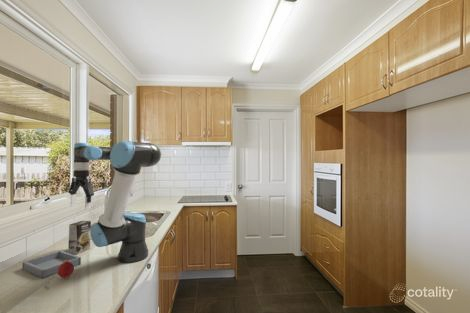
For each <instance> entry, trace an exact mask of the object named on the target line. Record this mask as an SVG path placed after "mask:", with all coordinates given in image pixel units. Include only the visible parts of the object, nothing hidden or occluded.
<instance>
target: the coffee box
mask: <svg viewBox="0 0 470 313" xmlns="http://www.w3.org/2000/svg"><path fill="white" fill-rule="evenodd" d="M91 225H92V221H91V220H81V221H80V220H79V221H77V222H73V223H70V224H68V227H69V228H68V245H67V246H68V248H67V253H69V254H72V255H79V254H82V253H83V252H86V251H88V250H90V249H91V233H90V229H91Z"/></svg>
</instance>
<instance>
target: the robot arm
mask: <svg viewBox="0 0 470 313" xmlns="http://www.w3.org/2000/svg"><path fill="white" fill-rule="evenodd" d="M161 157H162V151H161V149H160V148H159V147H158V146H157V145H156V144H155V143H150V142H142V141H141V142H139V141H131V140H126V141H125V140H124V141H123V140H122V141H118V142H117V143H115V144H114V145H113V146H95V145H90V143H88V142H75V143H74V146H73V172H72V173H73V174H72V175H73V177H72V178H71V183H70V186H69V189H68V194H70V207H74V206H77V192H78V190H79V188H82V189H83V192H84V194H85V197H84V200H85V201H84V209H87V210H88V209H91V206H92V197H93V196H95V193H94V192H95V191H94V190H93V189H94V188H93V186H92V179H91V178H88V177H90V170H89V169H90V161H106V160H107V161H109V162H110V164H111V166H112V169H113V170H114V176H113V179H112V183H111V186H110V189H109V190H110V191H109V193H108V197H107V202H106V205H105V207H104V208H105V209H104V211H103V212H104V213H103V214H101V215H100V216H99V217H98V221H97V222H94V223H91V229H90V233H91V237H90V239H91V240H92V242H93V244H94V245H95V246H96V247H98V248H103V247H108V246H111V245H114V244H119V243H120V242H121V246H120V247H119V251H118V254H117V260H118V262H122V263H135V262H139V261H143V260H145V259H146V258H148V257H149V249H148V246H147V243H146V227H147V226H146V224H147V220H146V215H144V214H143V213H139V212H126V207H127V204H128V201H129V198H130V194H131V190H132V188H133V185H134V182H135V181H134V180H135V178H136V176H137V175H140V172H141V170H142V168H150V167H154V166H155V165H157V164H158V163H159V162H160V160H161ZM125 212H126V213H125Z"/></svg>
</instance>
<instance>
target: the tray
mask: <svg viewBox="0 0 470 313" xmlns="http://www.w3.org/2000/svg"><path fill="white" fill-rule="evenodd" d="M65 260H67V261H68V262H70V263H72V264H73V266H74V268H75V267H78V266H80V265H81V262H82V261H81V260H82V257H81V256H78V255H76V254H70V253H68V252H66V251H63V250H56V251H55V252H50V253H48V254H45V255H42V256H37V257H35V258H31V259H28V260H26V261H25V260H24V261H22V271H24V272H27V273H29V274H31V275H34V276H36V277H38V278H40V279H42V280H45V279H47V278H50V277H52V276H54V275H58V269H59V267H60V265H61V264H63V263H64V261H65Z"/></svg>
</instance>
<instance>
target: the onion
mask: <svg viewBox="0 0 470 313" xmlns="http://www.w3.org/2000/svg"><path fill="white" fill-rule="evenodd" d="M74 271H75V267H74V266H73V264H72V263H70V262H68V261H67V260H65V261H64V263H63V264H61V265H60V267H59V269H58V273H57V275H58V276H59V277H60V278H63V279H68V278H70V276H71V275H72V274H73V272H74Z"/></svg>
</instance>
